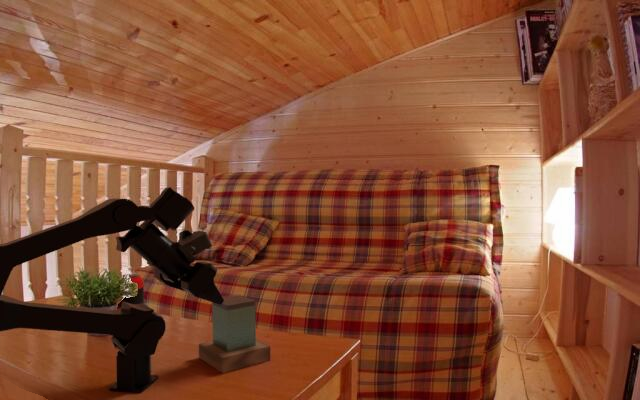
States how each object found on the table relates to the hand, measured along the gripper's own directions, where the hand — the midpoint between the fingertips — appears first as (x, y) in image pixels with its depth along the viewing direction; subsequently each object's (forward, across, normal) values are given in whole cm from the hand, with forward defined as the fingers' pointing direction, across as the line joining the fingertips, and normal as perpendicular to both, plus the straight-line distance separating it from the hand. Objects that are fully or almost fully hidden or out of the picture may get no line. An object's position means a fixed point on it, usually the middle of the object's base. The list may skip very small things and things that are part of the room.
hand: (211, 298), depth 94 cm
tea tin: (+11, 0, +4) cm, 12 cm away
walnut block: (+13, 0, +6) cm, 14 cm away
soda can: (+8, +48, +12) cm, 50 cm away
